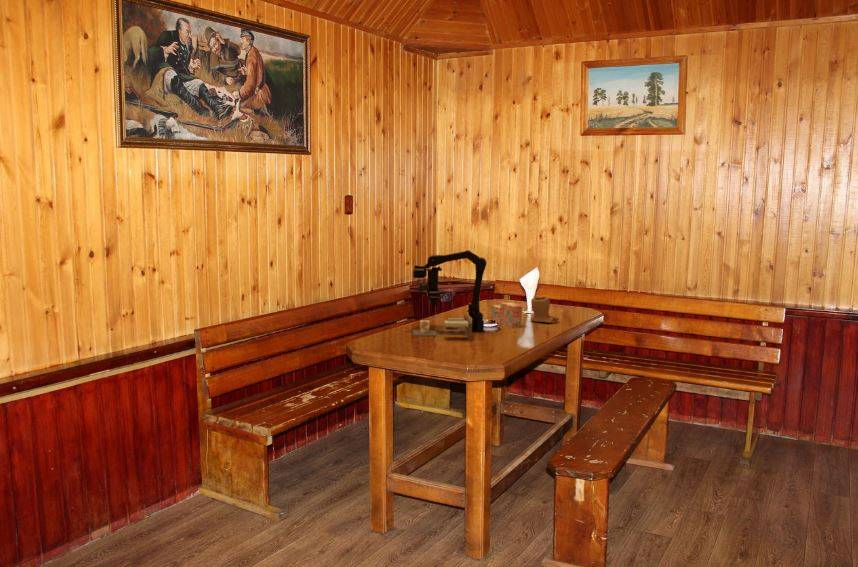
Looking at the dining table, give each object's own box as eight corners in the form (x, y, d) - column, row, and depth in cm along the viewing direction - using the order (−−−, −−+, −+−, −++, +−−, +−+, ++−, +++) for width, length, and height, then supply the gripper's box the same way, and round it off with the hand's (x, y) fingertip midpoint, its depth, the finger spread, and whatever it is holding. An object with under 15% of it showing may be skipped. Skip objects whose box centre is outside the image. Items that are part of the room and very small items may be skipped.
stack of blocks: (490, 321, 424) (491, 300, 422) (499, 320, 427) (500, 299, 425) (512, 328, 405) (513, 306, 403) (521, 327, 408) (522, 305, 407)
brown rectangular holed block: (466, 330, 395) (467, 314, 393) (471, 341, 370) (472, 323, 369) (437, 330, 394) (438, 314, 393) (440, 340, 369) (441, 323, 368)
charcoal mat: (435, 332, 389) (435, 330, 389) (436, 337, 377) (436, 335, 377) (412, 332, 388) (412, 330, 388) (413, 337, 376) (413, 334, 376)
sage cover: (467, 323, 376) (467, 318, 376) (468, 326, 368) (468, 321, 368) (444, 323, 375) (444, 318, 375) (445, 326, 368) (445, 320, 368)
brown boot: (526, 322, 421) (527, 296, 419) (534, 319, 432) (535, 294, 429) (551, 325, 414) (552, 299, 412) (559, 322, 424) (560, 296, 422)
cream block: (428, 331, 385) (429, 320, 384) (429, 333, 380) (429, 322, 379) (420, 331, 385) (420, 320, 384) (420, 333, 380) (420, 321, 379)
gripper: (417, 276, 401) (416, 304, 403) (418, 281, 382) (417, 310, 384) (437, 276, 401) (437, 304, 403) (439, 281, 383) (439, 310, 385)
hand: (432, 307), depth 394 cm, fingers open, 9 cm apart
